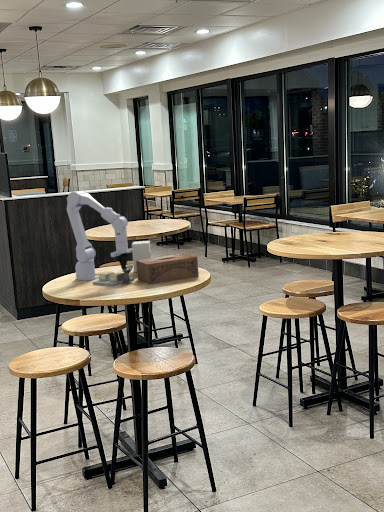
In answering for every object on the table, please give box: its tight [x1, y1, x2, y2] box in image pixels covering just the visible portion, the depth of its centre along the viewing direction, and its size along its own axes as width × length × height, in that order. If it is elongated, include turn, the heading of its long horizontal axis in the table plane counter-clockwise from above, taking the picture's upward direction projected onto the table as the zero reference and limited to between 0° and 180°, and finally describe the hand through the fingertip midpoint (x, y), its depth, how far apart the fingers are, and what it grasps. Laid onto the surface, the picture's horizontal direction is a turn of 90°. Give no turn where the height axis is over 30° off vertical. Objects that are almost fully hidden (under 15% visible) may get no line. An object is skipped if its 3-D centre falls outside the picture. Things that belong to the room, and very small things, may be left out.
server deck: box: [92, 272, 135, 287], centre depth 306 cm, size 18×14×6 cm
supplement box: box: [131, 240, 152, 273], centre depth 331 cm, size 9×9×15 cm
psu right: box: [109, 272, 124, 282], centre depth 305 cm, size 5×6×3 cm
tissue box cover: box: [136, 252, 200, 286], centre depth 307 cm, size 26×14×10 cm, turn 116°
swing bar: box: [121, 264, 134, 274], centre depth 308 cm, size 18×4×2 cm, turn 179°
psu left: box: [98, 271, 116, 281], centre depth 309 cm, size 5×6×3 cm
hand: (123, 269), depth 313 cm, fingers closed, pressing on swing bar
